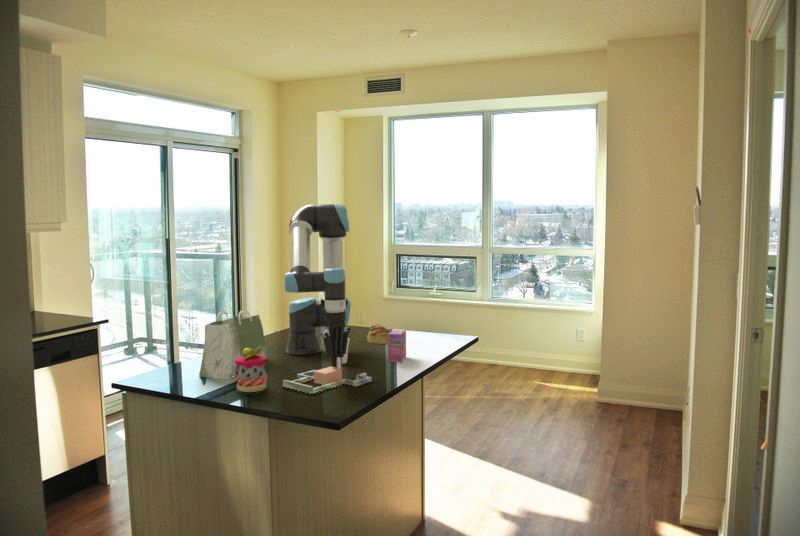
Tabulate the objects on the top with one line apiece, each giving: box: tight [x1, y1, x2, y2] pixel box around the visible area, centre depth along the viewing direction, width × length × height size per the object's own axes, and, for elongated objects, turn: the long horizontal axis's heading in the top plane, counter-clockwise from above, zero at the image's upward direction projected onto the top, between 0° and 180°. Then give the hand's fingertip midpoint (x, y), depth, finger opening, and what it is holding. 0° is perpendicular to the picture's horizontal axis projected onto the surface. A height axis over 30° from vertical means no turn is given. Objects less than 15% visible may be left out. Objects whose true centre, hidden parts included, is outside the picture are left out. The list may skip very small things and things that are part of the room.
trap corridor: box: [282, 369, 373, 395], centre depth 219 cm, size 27×25×2 cm
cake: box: [235, 347, 268, 393], centre depth 211 cm, size 10×11×15 cm
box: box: [387, 328, 407, 364], centre depth 251 cm, size 10×6×12 cm, turn 168°
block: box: [313, 366, 343, 386], centre depth 219 cm, size 6×8×4 cm
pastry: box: [366, 323, 391, 345], centre depth 290 cm, size 13×15×8 cm
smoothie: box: [342, 337, 350, 364], centre depth 248 cm, size 6×6×14 cm
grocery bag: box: [198, 309, 268, 379], centre depth 241 cm, size 32×14×23 cm, turn 168°
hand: (337, 374), depth 223 cm, fingers closed
